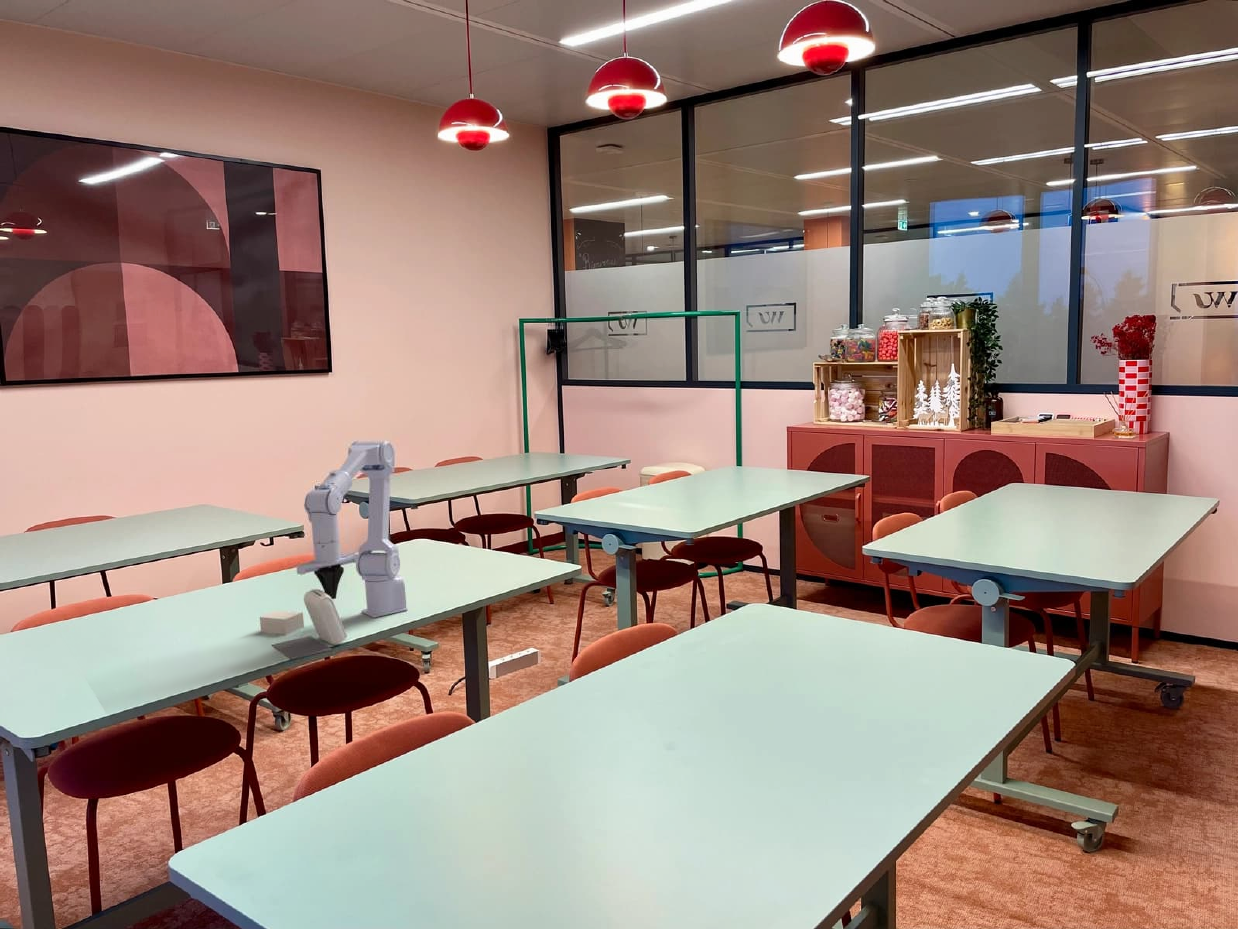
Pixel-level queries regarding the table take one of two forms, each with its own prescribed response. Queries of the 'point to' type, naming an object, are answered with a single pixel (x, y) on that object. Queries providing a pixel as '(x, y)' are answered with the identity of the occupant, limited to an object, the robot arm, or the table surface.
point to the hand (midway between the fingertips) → (331, 598)
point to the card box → (281, 622)
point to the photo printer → (324, 616)
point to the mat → (301, 647)
